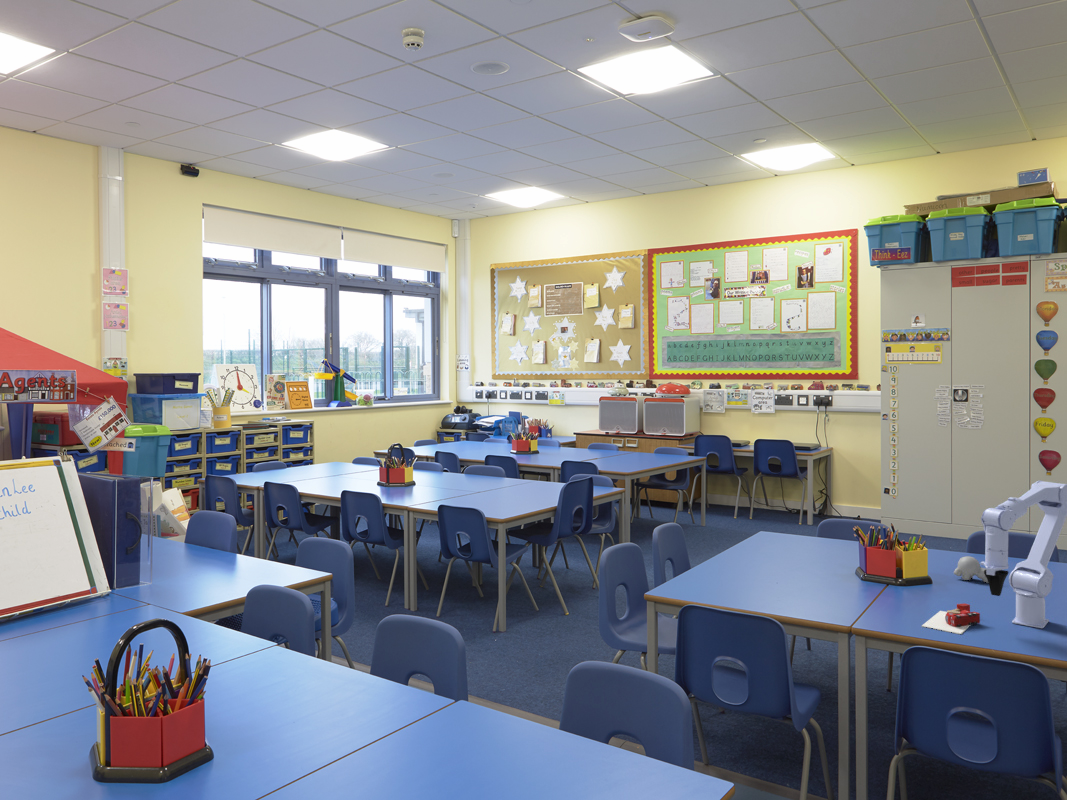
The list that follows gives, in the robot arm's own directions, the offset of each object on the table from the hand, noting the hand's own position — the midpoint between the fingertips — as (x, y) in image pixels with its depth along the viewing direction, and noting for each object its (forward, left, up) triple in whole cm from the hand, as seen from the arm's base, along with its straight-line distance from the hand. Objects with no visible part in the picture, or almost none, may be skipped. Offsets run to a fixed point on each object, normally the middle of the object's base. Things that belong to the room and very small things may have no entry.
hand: (995, 595), depth 221 cm
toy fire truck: (+1, -6, -8) cm, 10 cm away
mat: (+2, -12, -10) cm, 16 cm away
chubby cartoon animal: (-54, -18, -11) cm, 58 cm away
